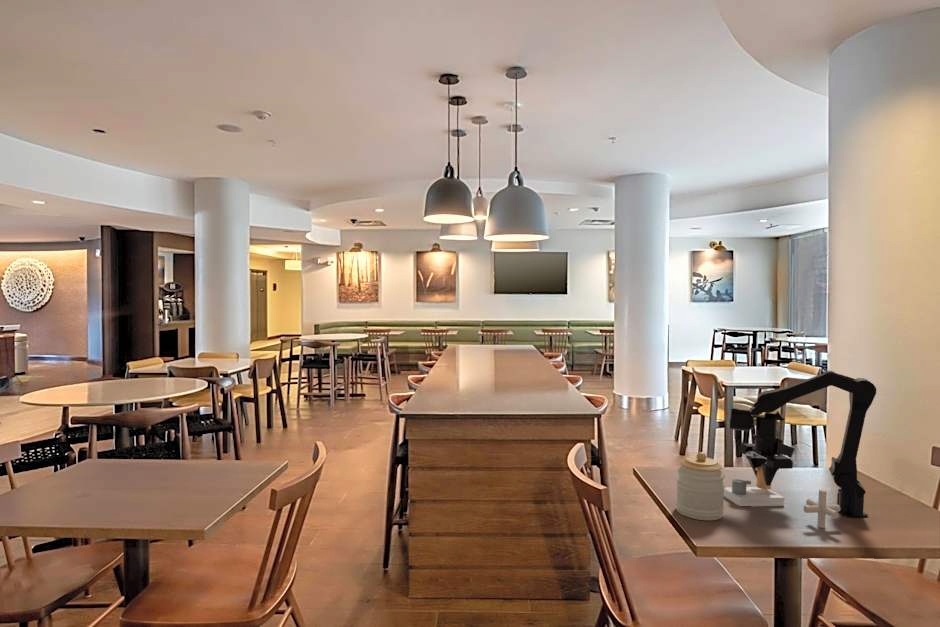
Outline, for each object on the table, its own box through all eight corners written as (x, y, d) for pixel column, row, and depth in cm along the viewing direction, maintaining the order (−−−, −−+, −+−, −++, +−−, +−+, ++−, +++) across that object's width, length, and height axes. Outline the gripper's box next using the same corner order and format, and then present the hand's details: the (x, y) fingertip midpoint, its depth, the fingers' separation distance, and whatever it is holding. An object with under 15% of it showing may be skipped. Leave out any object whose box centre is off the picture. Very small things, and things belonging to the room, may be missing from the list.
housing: (783, 505, 181) (784, 486, 180) (740, 506, 179) (740, 486, 179) (763, 494, 191) (764, 475, 190) (722, 495, 189) (722, 476, 189)
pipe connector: (823, 519, 171) (825, 484, 170) (851, 533, 161) (853, 496, 160) (792, 520, 169) (793, 485, 168) (818, 534, 159) (820, 497, 159)
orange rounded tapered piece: (773, 489, 183) (774, 469, 183) (759, 489, 183) (760, 470, 183) (765, 485, 187) (766, 466, 187) (751, 485, 187) (752, 466, 186)
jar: (665, 507, 177) (668, 448, 176) (701, 503, 182) (703, 445, 181) (696, 523, 165) (699, 460, 164) (733, 518, 169) (736, 456, 169)
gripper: (811, 440, 176) (808, 493, 177) (771, 426, 195) (769, 473, 195) (775, 440, 175) (773, 493, 175) (739, 426, 193) (737, 474, 194)
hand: (763, 483), depth 185 cm, fingers closed on orange rounded tapered piece, 4 cm apart
